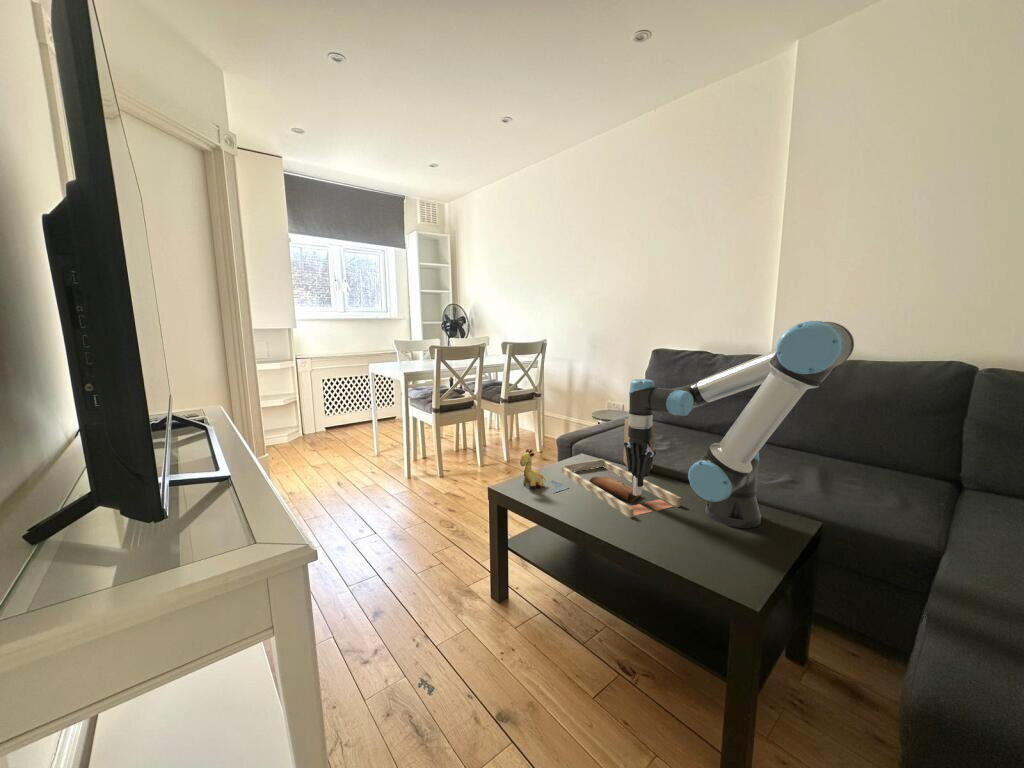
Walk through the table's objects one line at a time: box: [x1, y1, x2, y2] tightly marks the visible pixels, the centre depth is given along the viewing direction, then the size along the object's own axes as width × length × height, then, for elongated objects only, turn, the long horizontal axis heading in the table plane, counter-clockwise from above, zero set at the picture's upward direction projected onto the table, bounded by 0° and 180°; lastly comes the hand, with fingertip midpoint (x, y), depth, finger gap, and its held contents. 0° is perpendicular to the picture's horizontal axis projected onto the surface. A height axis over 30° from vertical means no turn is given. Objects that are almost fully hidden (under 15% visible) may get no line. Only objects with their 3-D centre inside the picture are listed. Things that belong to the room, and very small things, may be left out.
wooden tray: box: [561, 458, 682, 519], centre depth 146 cm, size 41×21×4 cm, turn 23°
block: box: [623, 417, 655, 471], centre depth 169 cm, size 10×10×20 cm
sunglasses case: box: [588, 476, 642, 503], centre depth 143 cm, size 18×7×7 cm
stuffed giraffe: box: [519, 448, 569, 496], centre depth 146 cm, size 16×18×16 cm
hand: (637, 494), depth 135 cm, fingers closed
